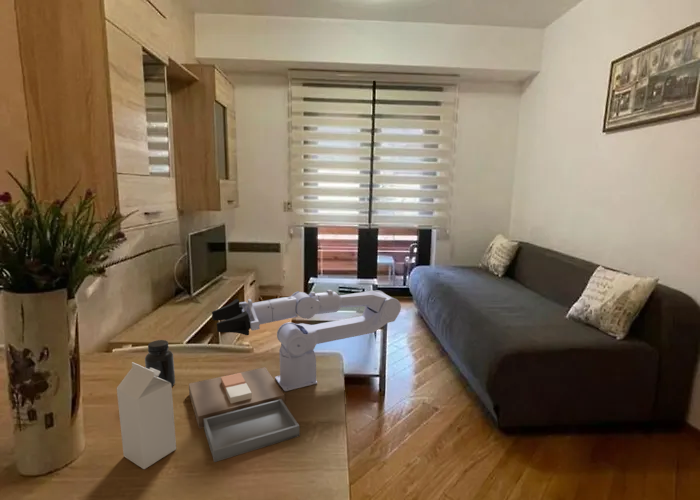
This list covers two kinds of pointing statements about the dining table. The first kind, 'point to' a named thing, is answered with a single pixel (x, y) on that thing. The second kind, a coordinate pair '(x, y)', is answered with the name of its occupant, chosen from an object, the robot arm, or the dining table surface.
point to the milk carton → (146, 416)
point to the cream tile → (238, 393)
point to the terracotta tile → (232, 380)
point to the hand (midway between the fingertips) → (214, 321)
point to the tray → (249, 429)
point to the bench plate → (215, 401)
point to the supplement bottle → (161, 360)
